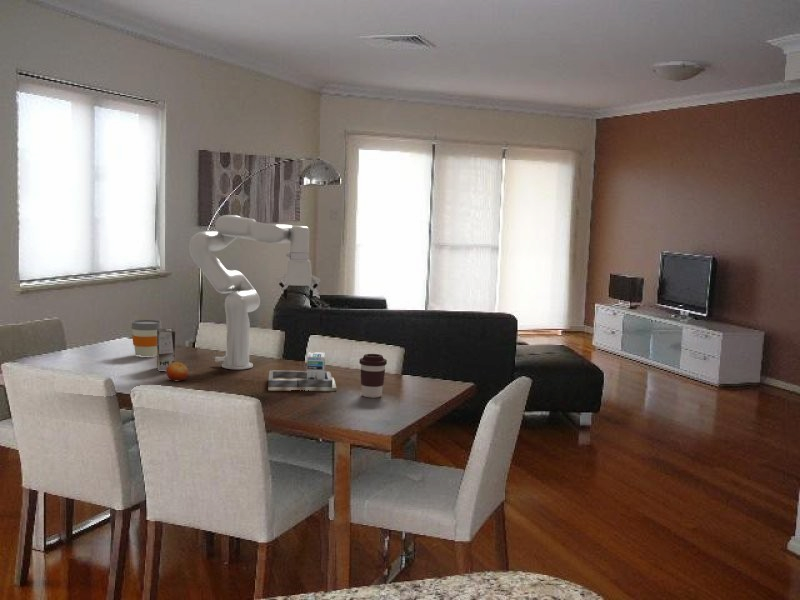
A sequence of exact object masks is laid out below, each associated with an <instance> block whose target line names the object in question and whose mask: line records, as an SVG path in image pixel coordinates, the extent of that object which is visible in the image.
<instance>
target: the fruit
mask: <svg viewBox="0 0 800 600" xmlns="http://www.w3.org/2000/svg"><path fill="white" fill-rule="evenodd" d="M165 372H166V376H167V379H168V378H169V379H168V380H170V379H171V380H170V381H172V380H181V381H184V380H186V379H187V378H188V376H189V369H188V367H187V365H185V364H184V363H182V362H179V361H175V362H173V363H171V364H169V366H168V367H167V370H166V371H165ZM183 379H184V380H183Z"/></svg>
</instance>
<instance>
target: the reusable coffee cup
mask: <svg viewBox="0 0 800 600" xmlns="http://www.w3.org/2000/svg"><path fill="white" fill-rule="evenodd" d="M157 329H163V326H162V321H161V320H156V319H138V320H137V319H136V320H132V321H131V330H132V334H131V338H132V344H133V346H134V353H135V356H136V355H141V356H153V355H157Z"/></svg>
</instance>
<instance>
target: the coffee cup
mask: <svg viewBox="0 0 800 600" xmlns="http://www.w3.org/2000/svg"><path fill="white" fill-rule="evenodd" d="M387 364H388V360H387V358H384V356H383V355H382V354H378V353H367V354H364V355H363V357H361V358H359V365H360V385H361V396H362V397H365V398H370V399H371V398H372V399H373V398H380V397H382V394H383V387H384V383H385V382H384V380H385V373H386V369H385V368H386V367H385V366H387Z"/></svg>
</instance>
